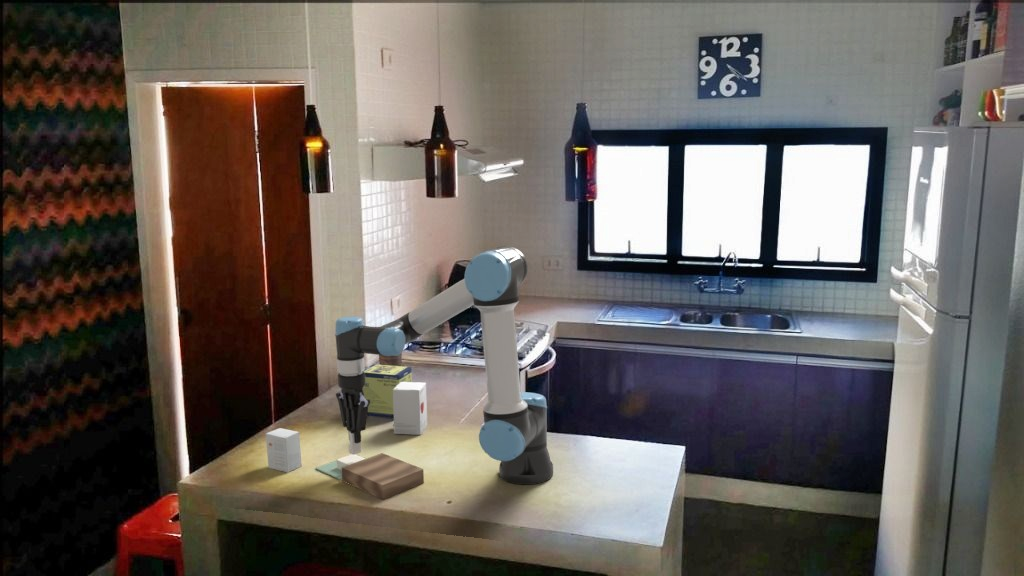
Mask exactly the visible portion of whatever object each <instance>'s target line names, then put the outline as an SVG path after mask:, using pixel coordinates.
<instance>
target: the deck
mask: <svg viewBox="0 0 1024 576" xmlns="http://www.w3.org/2000/svg"><path fill="white" fill-rule="evenodd" d="M341 481H342V482H343V481H344V483H345V482H347V483H346V484H348V483H349V484H348V485H350V484H351V485H350V486H352V485H353V486H352V487H354V486H355V488H356V487H357V489H359V490H361V489H362V490H361V491H363V492H365V491H366V492H365V493H368V494H370V495H372V496H374V497H377V498H379V499H381V500H386V499H388V498H390V497H392V496H395V495H397V494H400V493H403V492H405V491H408V490H411V489H413V488H415V487H417V486H420V485H422V484H424V483H425V480H424V468H421V467H420V466H419V467H418V466H416V465H413V464H411V463H410V462H407V461H404V460H402V459H398V458H396V457H394V456H391V455H388V454H385V453H384V452H381V453H379V454H376V455H373V456H370V457H367V459H364V460H361V461H358V462H355V463H353V464H350V465H347V466H344V467H342V480H341Z"/></svg>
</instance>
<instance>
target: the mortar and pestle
mask: <svg viewBox="0 0 1024 576" xmlns="http://www.w3.org/2000/svg"><path fill="white" fill-rule="evenodd" d="M402 353H403V352H402ZM402 353H401V354H399V355H397V356H384V355H378V360H379V362H378V363H379V364H378V365H389V366H402V364H403V361H402V360H403V359H402V356H403V355H402Z"/></svg>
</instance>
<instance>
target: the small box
mask: <svg viewBox="0 0 1024 576" xmlns="http://www.w3.org/2000/svg"><path fill="white" fill-rule="evenodd" d="M265 443H266V453H267V455H266V456H267V466H268V468H269V469H272V470H277V471H281V472H284V473H290V472H292V471H294V470H296V469H298V468H300V467H302V452H301V451H302V450H301V441H300V432H299V431H296V430H292V429H291V430H290V429H286V428H282V427H281V428H280V427H279V428H278V427H277V428H276V429H274V430H271V431H268V432H266V433H265Z"/></svg>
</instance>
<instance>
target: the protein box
mask: <svg viewBox="0 0 1024 576" xmlns="http://www.w3.org/2000/svg"><path fill="white" fill-rule="evenodd" d="M364 372H365V380H366V384H365V386H364V387H363V392H364V398H365V399H366V400H368V399H369V400H370V404H369V406H368V413H367V417H376V418H377V417H378V418H387V419H394V410H393V389H394V388H395V387H396V386H397V385H398V384H399V383H400V382H413V379H412V378H413V377H412V376H413V375H412V367H411V366H402V365H401V366H389V365H380V364H376V363H375V364H373V363H372V364H371V365H369V366H367V367H365V370H364Z"/></svg>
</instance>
